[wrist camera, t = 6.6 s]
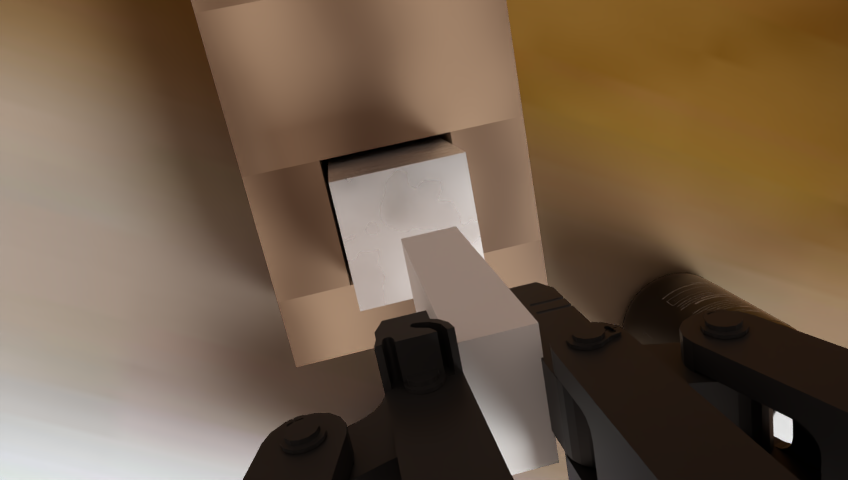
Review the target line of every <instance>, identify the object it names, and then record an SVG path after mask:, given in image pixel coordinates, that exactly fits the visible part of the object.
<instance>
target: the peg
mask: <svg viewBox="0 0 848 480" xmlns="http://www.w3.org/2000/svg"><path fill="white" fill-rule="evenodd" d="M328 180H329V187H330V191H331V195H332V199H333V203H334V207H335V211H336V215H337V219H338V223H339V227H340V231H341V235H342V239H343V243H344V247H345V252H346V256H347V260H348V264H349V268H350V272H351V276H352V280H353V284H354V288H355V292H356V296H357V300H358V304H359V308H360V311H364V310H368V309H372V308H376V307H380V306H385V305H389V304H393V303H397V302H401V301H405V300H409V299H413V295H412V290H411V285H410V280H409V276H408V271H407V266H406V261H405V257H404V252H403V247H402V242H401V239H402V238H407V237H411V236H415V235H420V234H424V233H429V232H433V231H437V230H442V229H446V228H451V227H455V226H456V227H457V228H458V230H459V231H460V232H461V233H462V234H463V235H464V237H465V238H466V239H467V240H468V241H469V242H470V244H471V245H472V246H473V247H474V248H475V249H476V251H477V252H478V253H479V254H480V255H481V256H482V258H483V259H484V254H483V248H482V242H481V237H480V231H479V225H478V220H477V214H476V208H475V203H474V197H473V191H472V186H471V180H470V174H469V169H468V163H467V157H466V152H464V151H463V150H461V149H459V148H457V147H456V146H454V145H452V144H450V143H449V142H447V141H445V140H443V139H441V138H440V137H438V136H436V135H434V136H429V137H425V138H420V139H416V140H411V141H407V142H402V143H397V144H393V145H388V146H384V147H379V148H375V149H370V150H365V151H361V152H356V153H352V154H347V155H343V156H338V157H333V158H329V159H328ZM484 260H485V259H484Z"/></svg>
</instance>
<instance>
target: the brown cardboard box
mask: <svg viewBox="0 0 848 480" xmlns="http://www.w3.org/2000/svg"><path fill="white" fill-rule="evenodd" d="M191 3H192V6H193V10H194V13H195V17H196V20H197V24H198V27H199V31H200V34H201V38H202V41H203V45H204V48H205V52H206V55H207V58H208V62H209V65H210V69H211V72H212V76H213V79H214V83H215V86H216V90H217V93H218V97H219V100H220V104H221V107H222V111H223V114H224V118H225V121H226V125H227V128H228V131H229V135H230V138H231V142H232V145H233V149H234V152H235V156H236V159H237V163H238V166H239V170H240V173H241V177H242V180H243V184H244V187H245V191H246V194H247V198H248V201H249V205H250V208H251V211H252V215H253V218H254V222H255V225H256V229H257V232H258V236H259V239H260V243H261V246H262V250H263V253H264V257H265V260H266V264H267V267H268V271H269V274H270V278H271V281H272V284H273V288H274V291H275V295H276V298H277V302H278V305H279V309H280V312H281V316H282V319H283V323H284V326H285V330H286V333H287V337H288V340H289V344H290V347H291V351H292V354H293V358H294V361H295V364H296V367H300V366H304V365H308V364H312V363H316V362H320V361H324V360H328V359H332V358H336V357H340V356H344V355H348V354H352V353H356V352H360V351H364V350H368V349H372V348H374V345H375V341H376V338H375V331H376V329H377V328H378V326H379V325H380V323H381V321H383V320H387V319H391V318H396V317H400V316H404V315H408V314H412V313H416V309H415V304H414V300H413V299H409V300H405V301H401V302H397V303H393V304H389V305H385V306H380V307H376V308H372V309H368V310H364V311H360V308H359V304H358V300H357V296H356V292H355V288H354V284H353V280H352V276H351V272H350V268H349V264H348V260H347V256H346V252H345V247H344V243H343V239H342V235H341V231H340V227H339V223H338V219H337V215H336V211H335V207H334V203H333V199H332V195H331V191H330V187H329V180H328V168H327V164H326V160H325V159H329V158H333V157H338V156H343V155H347V154H352V153H356V152H361V151H365V150H370V149H375V148H379V147H384V146H388V145H393V144H397V143H402V142H407V141H411V140H416V139H420V138H425V137H429V136H434V135H436V136H438V137H440V138H441V139H443V140H445V141H447V142H449V143H450V144H452V145H454V146H456V147H457V148H459V149H461V150H463V151H464V152H466V157H467V163H468V169H469V174H470V180H471V186H472V191H473V197H474V203H475V208H476V214H477V220H478V225H479V231H480V237H481V242H482V248H483V254H484V259H485V261H486V262H487V263H488V265H489V266H490V267H491V268H492V269H493V270H494V272H495V273H496V274H497V275H498V276H499V277H500V279H501V280H502V281H503V282H504V283H505V284H506V286H507V287H508V288H513V287H517V286H521V285H525V284H530V283H534V282H538V283H541V284H544V285H547V286H548V283H547V276H546V269H545V262H544V255H543V248H542V242H541V235H540V228H539V221H538V214H537V207H536V201H535V194H534V187H533V180H532V173H531V167H530V160H529V153H528V146H527V139H526V132H525V126H524V119H523V112H522V105H521V98H520V91H519V85H518V78H517V71H516V64H515V57H514V50H513V44H512V37H511V30H510V23H509V16H508V10H507V3H506V0H191Z"/></svg>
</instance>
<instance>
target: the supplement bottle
mask: <svg viewBox="0 0 848 480" xmlns="http://www.w3.org/2000/svg"><path fill="white" fill-rule="evenodd" d="M716 309H725V310H728V311H739V312H743V313H747V314H751V315H755V316H758V317H761V318H763V319H766V320H769V321H772V322H774V323H777V324H780V325H783V326H786V327H788V328H791V329H794V328H793V327H791V326H790V325H788V324H786V323H784V322H783V321H781V320H779V319H777V318H775V317H774V316H772V315H770V314H768V313H766V312H765V311H763V310H761V309H759V308H757V307H756V306H754V305H752V304H750V303H748V302H746V301H745V300H743V299H741V298H739V297H737V296H736V295H734V294H732V293H730V292H728V291H727V290H725V289H723V288H721V287H719V286H718V285H716V284H714V283H712V282H710V281H708V280H706V279H704V278H702V277H700V276H697V275H694V274H689V273H674V274H669V275H666V276H663V277H660V278H658V279H656V280H654V281H652V282H651V283H649V284H648V285H646V286H645V287H644V288H643V289H642V290H641V291H640V292H639V293H638V294H637V295H636V296H635V298H634V299H633V301H632V302H631V304H630V306H629V308H628V310H627V313H626V315H625V319H624V326H623V329H624V330H626V331H627V332H628V333H629V334H631V335H632V336H633V337H634V338H635V339H636V340H638V341H639V342H640V343H641V344H663V343H676V342H680V332H679V328H680V325H681V323H682V321H684V320H685V319H687V318H688V317H690V316H692V315H695V314H699V313H702V312H704V311H708V310H714V311H715V310H716ZM794 330H796V329H794ZM773 429H774V436H775V437H777V438H779V439H781V440H782V441H785V442H788V443H792V439H793V422H792V419H791V418H789V417H787V416H785V415H783V414H781V413H779V412H777V411H775V410H773Z"/></svg>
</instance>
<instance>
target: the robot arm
mask: <svg viewBox="0 0 848 480" xmlns="http://www.w3.org/2000/svg"><path fill="white" fill-rule="evenodd" d="M401 242H402V247H403V252H404V257H405V261H406V266H407V271H408V276H409V280H410V285H411V290H412V295H413V300H414V304H415V309H416V313H412V314H408V315H404V316H400V317H396V318H391V319H387V320H383V321H381V323H380V325H379V326H378V328H377V329H376V331H375V338H376V341H375V345H374V349H375V353H376V358H377V362H378V366H379V370H380V374H381V379H382V383H383V387H384V391H385V397H384V399H383V402H382V403H381V404H380V406H379V407H378V408H377V409H376V410H375V411H374V412H372V413H371V414H370V415H369V416H367V417H365V418H364V419H362V420H360V421H358V422H356V423H354V424H352V425H350V426H348V427H347V424H346V423H345V422H344V421H343V419H342V418H341V417H339V416H336V415H333V414H330V413H314V414H309V415H302V416H299V417H296V418H294V419H293V420H292V419H291V420H289V421H287V422H285V423H284V424H282V425H281V426H279V427H278V428H277V429H275V430H274V431H273V432H271V433H270V434H269V435H268V437H267V438H266V439H265V440H264V442H263V443H262V444H261V446H260V448H259V450H258V452H257V454H256V456H255V458H254V459H253V461H252V463H251V465H250V467H249V469H248V471H247V473H246V475H245V476H244V478H243V480H514V479H513V477H512V475H514V474H518V473H522V472H525V471H529V470H533V469H536V468H540V467H544V466H547V465H551V464H555V463H558V462H559V460H558V453H557V446H556V439H555V436H556V438H557V439H558V441H559V443H560V444H561V446H562V447H563V449H564V450H565V455H566V462H567V469H568V476H569V480H848V349H847V348H844V347H841V346H838V345H836V344H833V343H830V342H827V341H824V340H822V339H819V338H816V337H813V336H811V335H808V334H805V333H802V332H799V331H797V330H794V329H791V328H788V327H786V326H783V325H780V324H777V323H774V322H772V321H769V320H766V319H763V318H761V317H758V316H755V315H751V314H747V313H743V312H739V311H728V310H725V309H716V310H715V311H714V310H708V311H704V312H702V313H699V314H695V315H692V316H690V317H688V318H687V319H685V320H684V321H682V323H681V325H680V328H679V332H680V342H676V343H663V344H641V343H640V342H639V341H638V340H636V339H635V338H634V337H633V336H632V335H631V334H629V333H628V332H627V331H626V330H624V329H622V328H620V327H618V326H617V325H612V324H608V323H601V322H589V321H588V320H587V319H586V318H585V317H584V316H583V315H582V314H581V313H580V312H579V311H578V310H577V309H576V308H574V307H573V306H571V304H570V303H569V302H568V301H567V300H566V299H565V298H564V299H563V296H562V295H561V294H560V293H558V292H557V291H556V290H555V289H554V288H553V287H550V286H547V285H544V284H541V283H538V282H534V283H530V284H525V285H521V286H517V287H513V288H508V287H507V286H506V284H505V283H504V282H503V281H502V280H501V279H500V277H499V276H498V275H497V274H496V273H495V272H494V270H493V269H492V268H491V267H490V266H489V265H488V263H487V262H486V261H485V260H484V259H483V258H482V256H481V255H480V254H479V253H478V252H477V251H476V249H475V248H474V247H473V246H472V245H471V244H470V242H469V241H468V240H467V239H466V238H465V237H464V235H463V234H462V233H461V232H460V231H459V230H458V228H457V227H456V226H455V227H451V228H446V229H442V230H437V231H433V232H429V233H424V234H420V235H415V236H411V237H407V238H402V239H401ZM773 410H775V411H777V412H779V413H781V414H783V415H785V416H787V417H789V418H791V419H792V422H793V439H792V443H788V442H785V441H782V440H781V439H779V438H777V437H775V436H774V429H773Z"/></svg>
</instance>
